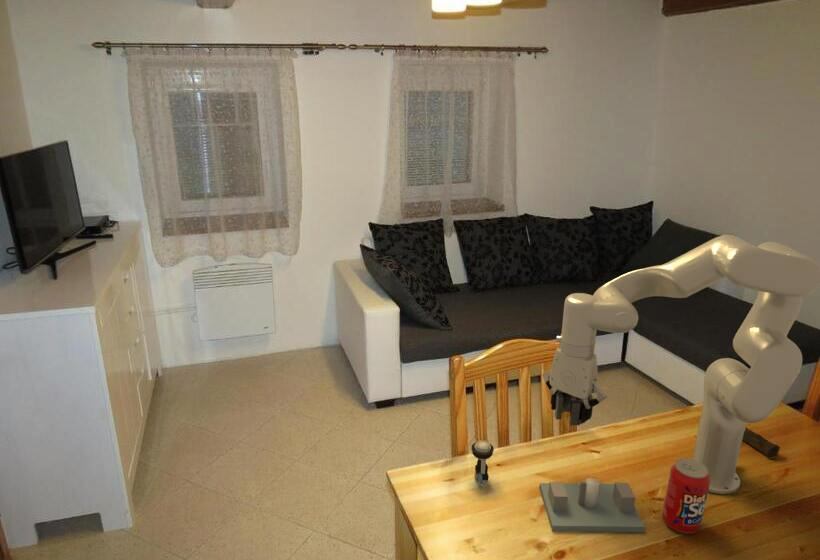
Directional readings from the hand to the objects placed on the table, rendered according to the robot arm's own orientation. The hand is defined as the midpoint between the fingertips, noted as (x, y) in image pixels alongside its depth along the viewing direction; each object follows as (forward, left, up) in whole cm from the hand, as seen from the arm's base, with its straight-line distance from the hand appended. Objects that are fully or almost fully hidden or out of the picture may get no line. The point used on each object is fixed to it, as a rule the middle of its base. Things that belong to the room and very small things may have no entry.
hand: (570, 413), depth 140 cm
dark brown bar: (-50, +21, -18) cm, 58 cm away
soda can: (-6, +27, -18) cm, 33 cm away
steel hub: (0, 0, -1) cm, 1 cm away
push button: (+18, -11, -18) cm, 27 cm away
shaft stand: (+6, +11, -18) cm, 22 cm away
